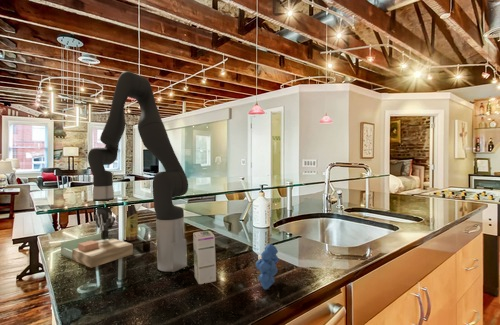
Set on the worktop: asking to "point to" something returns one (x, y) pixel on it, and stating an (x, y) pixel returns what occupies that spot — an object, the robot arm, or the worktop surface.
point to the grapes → (267, 266)
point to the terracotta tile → (88, 245)
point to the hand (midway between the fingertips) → (104, 238)
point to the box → (73, 244)
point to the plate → (103, 253)
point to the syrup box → (204, 257)
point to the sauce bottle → (132, 223)
